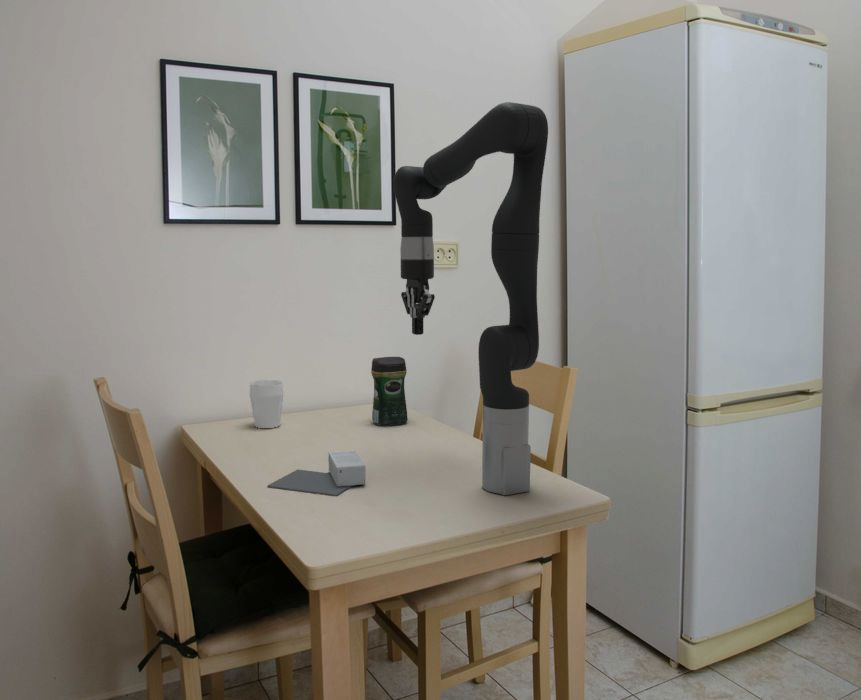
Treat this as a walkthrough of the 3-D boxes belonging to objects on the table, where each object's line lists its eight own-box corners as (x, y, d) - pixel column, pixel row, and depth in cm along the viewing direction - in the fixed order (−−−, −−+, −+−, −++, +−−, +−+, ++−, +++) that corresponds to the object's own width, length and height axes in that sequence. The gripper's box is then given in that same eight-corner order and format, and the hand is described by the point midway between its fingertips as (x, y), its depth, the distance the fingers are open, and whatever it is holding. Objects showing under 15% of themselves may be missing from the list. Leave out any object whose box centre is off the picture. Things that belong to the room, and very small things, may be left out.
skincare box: (328, 470, 164) (336, 487, 153) (328, 451, 164) (335, 466, 152) (355, 468, 166) (365, 484, 154) (355, 449, 165) (365, 464, 154)
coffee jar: (401, 418, 214) (401, 354, 212) (410, 424, 207) (410, 358, 204) (368, 421, 211) (367, 355, 208) (376, 427, 204) (376, 359, 201)
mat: (297, 470, 165) (297, 469, 165) (363, 478, 159) (363, 477, 159) (267, 487, 154) (267, 485, 154) (336, 496, 148) (336, 494, 148)
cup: (244, 428, 203) (242, 385, 201) (261, 421, 211) (259, 379, 209) (274, 431, 200) (273, 386, 198) (290, 423, 209) (289, 380, 207)
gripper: (445, 257, 165) (445, 336, 167) (419, 257, 177) (419, 330, 179) (414, 258, 162) (415, 338, 164) (389, 257, 173) (390, 332, 176)
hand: (417, 334), depth 171 cm, fingers closed
